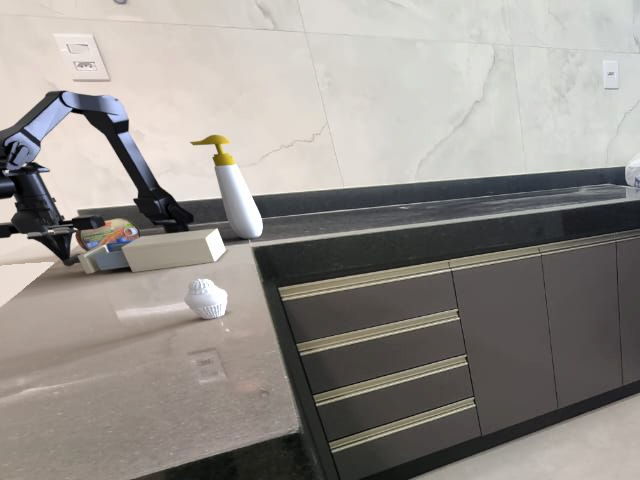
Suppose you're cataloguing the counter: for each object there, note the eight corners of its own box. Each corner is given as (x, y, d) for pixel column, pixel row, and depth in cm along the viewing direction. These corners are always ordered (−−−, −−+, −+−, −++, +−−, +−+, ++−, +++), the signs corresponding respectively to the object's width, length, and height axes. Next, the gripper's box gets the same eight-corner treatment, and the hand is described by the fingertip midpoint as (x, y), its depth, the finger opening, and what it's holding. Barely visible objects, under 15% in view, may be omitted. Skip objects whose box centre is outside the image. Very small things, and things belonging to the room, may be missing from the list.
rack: (62, 276, 123) (52, 258, 121) (85, 264, 134) (77, 247, 132) (167, 263, 131) (160, 246, 129) (181, 252, 142) (174, 236, 140)
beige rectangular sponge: (132, 272, 128) (120, 247, 125) (151, 259, 140) (140, 236, 137) (215, 261, 134) (205, 237, 132) (225, 250, 146) (217, 228, 144)
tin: (91, 256, 146) (75, 226, 142) (82, 256, 147) (66, 226, 143) (146, 244, 159) (133, 215, 156) (138, 244, 160) (125, 215, 156)
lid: (117, 259, 142) (107, 238, 140) (147, 255, 145) (138, 235, 142) (111, 262, 138) (100, 241, 136) (141, 259, 141) (132, 238, 138)
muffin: (184, 323, 93) (167, 285, 90) (204, 311, 98) (189, 275, 95) (222, 320, 93) (207, 282, 90) (240, 308, 99) (226, 272, 96)
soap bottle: (225, 237, 164) (187, 136, 151) (264, 232, 169) (230, 133, 157) (228, 244, 154) (187, 136, 142) (269, 237, 160) (233, 133, 147)
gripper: (-47, 204, 111) (-4, 276, 117) (70, 195, 118) (103, 263, 124) (-16, 198, 120) (21, 265, 126) (90, 190, 127) (120, 254, 134)
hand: (67, 262), depth 127 cm, fingers closed
